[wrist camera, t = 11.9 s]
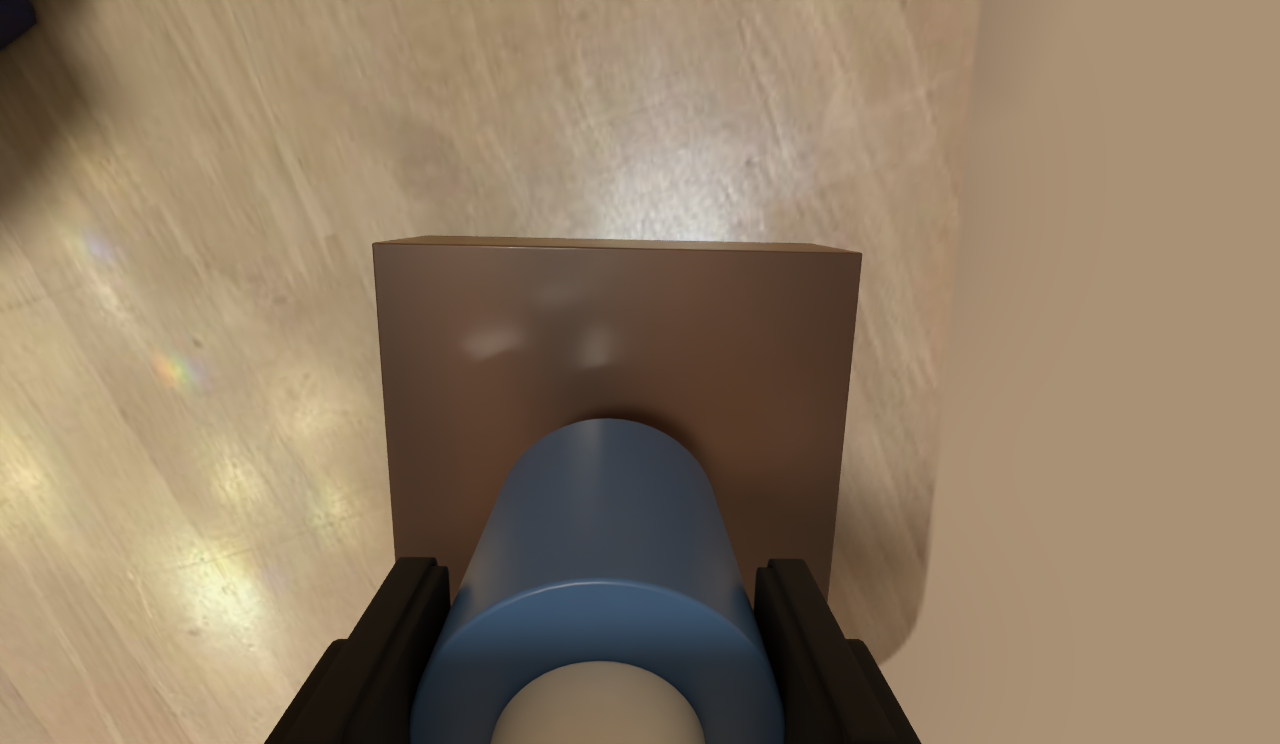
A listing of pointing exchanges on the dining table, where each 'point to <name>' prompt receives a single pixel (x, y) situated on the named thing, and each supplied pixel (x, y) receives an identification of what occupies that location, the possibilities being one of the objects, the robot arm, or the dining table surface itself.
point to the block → (617, 376)
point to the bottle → (601, 608)
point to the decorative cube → (15, 20)
